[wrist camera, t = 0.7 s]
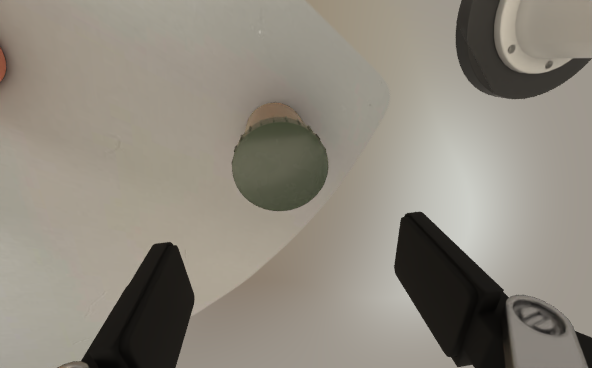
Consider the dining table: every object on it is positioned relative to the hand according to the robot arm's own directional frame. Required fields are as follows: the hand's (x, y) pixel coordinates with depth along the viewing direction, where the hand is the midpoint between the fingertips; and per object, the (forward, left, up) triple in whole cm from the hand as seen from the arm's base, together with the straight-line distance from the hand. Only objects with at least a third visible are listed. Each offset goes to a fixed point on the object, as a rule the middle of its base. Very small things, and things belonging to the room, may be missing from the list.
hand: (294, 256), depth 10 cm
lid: (0, 0, -9) cm, 9 cm away
